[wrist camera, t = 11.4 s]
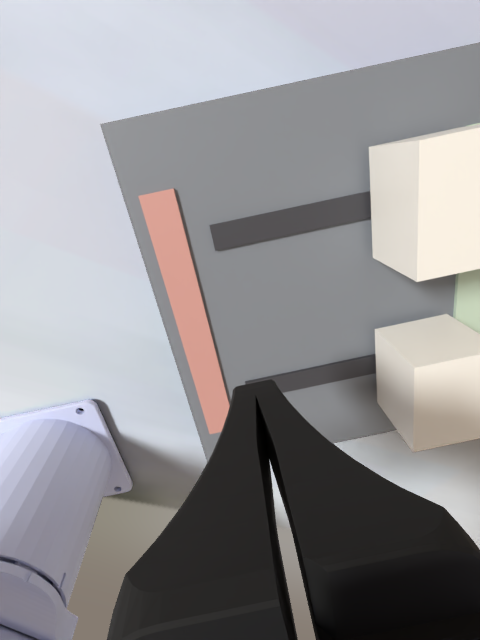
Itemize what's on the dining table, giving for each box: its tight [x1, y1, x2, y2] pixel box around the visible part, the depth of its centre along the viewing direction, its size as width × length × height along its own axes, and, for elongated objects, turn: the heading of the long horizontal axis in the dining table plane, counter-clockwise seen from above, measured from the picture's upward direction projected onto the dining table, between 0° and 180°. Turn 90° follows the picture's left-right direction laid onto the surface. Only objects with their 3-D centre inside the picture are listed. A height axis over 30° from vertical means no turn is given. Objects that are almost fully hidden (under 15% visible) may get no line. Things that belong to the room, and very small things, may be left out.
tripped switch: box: [369, 124, 480, 282], centre depth 14 cm, size 4×5×4 cm
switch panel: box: [100, 43, 480, 462], centre depth 19 cm, size 18×20×2 cm
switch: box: [375, 314, 480, 452], centre depth 18 cm, size 4×5×4 cm
